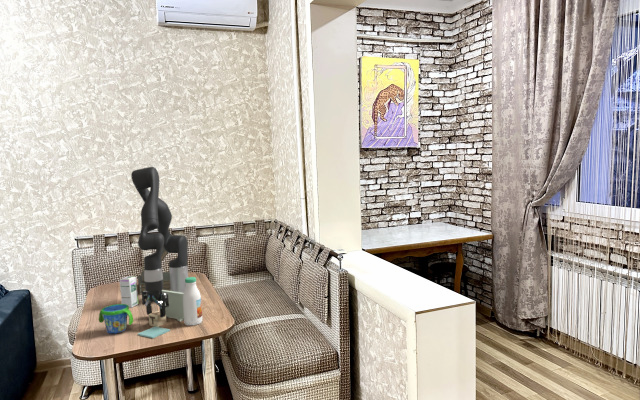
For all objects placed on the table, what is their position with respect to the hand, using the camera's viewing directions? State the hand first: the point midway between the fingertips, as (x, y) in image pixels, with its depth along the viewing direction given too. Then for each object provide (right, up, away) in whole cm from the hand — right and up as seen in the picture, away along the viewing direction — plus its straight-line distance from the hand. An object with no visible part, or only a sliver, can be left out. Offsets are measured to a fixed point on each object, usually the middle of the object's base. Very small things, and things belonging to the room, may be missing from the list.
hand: (156, 315), depth 197 cm
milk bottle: (+16, -4, 0) cm, 17 cm away
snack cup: (-15, -5, -6) cm, 16 cm away
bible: (-22, 0, +62) cm, 66 cm away
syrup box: (-24, -3, +29) cm, 38 cm away
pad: (+3, -5, -10) cm, 11 cm away
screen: (+5, -3, +8) cm, 10 cm away
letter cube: (+1, -4, +1) cm, 4 cm away
